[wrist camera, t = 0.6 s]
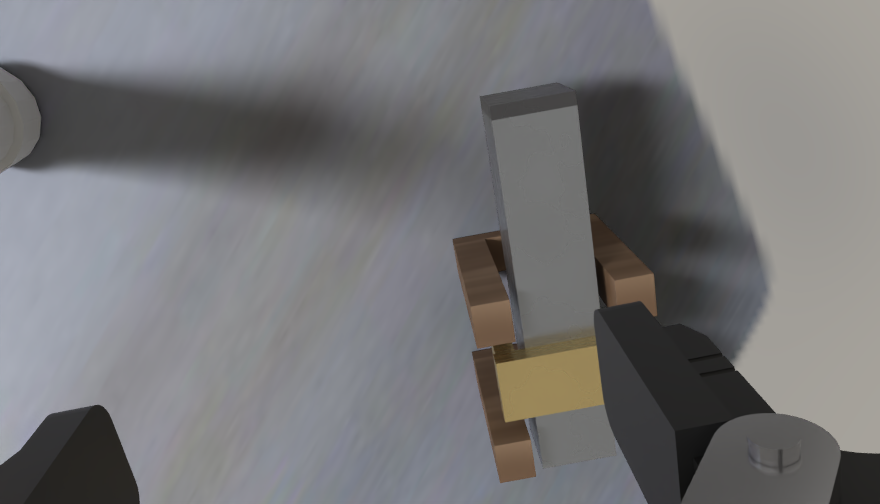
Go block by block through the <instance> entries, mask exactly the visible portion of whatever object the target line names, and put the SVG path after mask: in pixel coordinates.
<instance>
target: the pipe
mask: <svg viewBox="0 0 880 504" xmlns="http://www.w3.org/2000/svg"><path fill="white" fill-rule="evenodd" d="M40 126H41V115H40V112H39V109H38V106H37V103H36V100H35V97H34V96H33V95H32V94H31V92H30V91H29V90H28V89H27V87H26V86H25V85H24V84H23V82H22V81H21V80H20V79H18V78H17V77H15V76H13V75H12V74H10V73H9V72H7V71H5V70H4V69H2V68H0V173H2V172H3V171H5V170H6V169H8V168H9V167H11V166H12V165H15V164H16V163H18V162H19V161H20V160H22V159H23V158H25V157H26V156H28V155H29V154H30V153H31V152H32V150H33V148H34V146H35V145H36V143H37V141H38V139H39V138H40Z"/></svg>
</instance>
